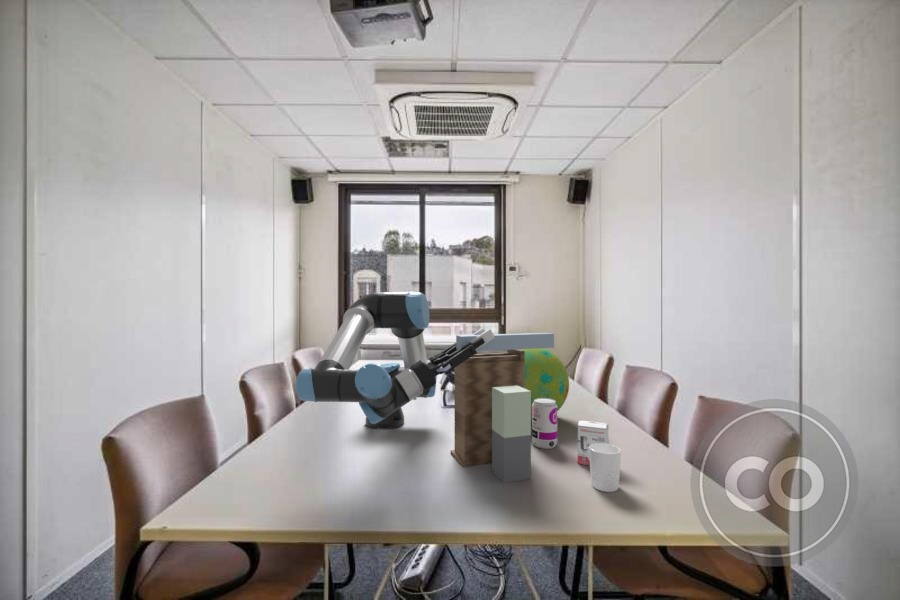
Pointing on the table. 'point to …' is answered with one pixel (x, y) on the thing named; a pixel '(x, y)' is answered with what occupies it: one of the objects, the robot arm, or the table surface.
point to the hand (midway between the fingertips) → (488, 332)
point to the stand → (481, 401)
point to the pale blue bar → (510, 341)
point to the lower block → (511, 457)
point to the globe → (545, 376)
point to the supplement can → (544, 423)
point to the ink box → (590, 438)
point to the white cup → (605, 466)
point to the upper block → (511, 411)
